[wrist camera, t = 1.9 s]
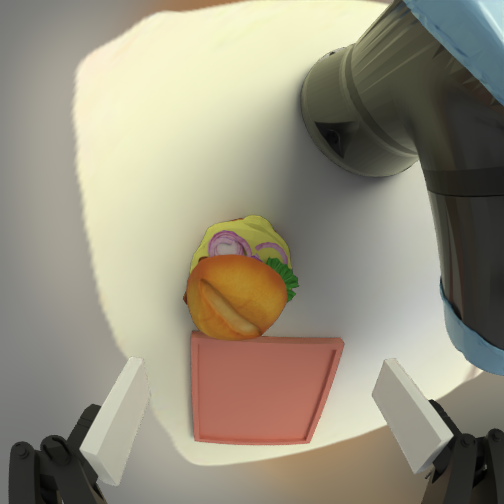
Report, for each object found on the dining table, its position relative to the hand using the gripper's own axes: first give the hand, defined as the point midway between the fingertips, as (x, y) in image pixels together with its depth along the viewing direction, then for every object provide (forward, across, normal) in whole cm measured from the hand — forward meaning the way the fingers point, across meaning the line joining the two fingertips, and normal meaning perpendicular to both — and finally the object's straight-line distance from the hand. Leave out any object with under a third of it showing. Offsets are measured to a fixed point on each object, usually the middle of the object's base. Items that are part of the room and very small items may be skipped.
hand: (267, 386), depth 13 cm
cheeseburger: (+17, -1, +1) cm, 17 cm away
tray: (+17, +2, -17) cm, 24 cm away
